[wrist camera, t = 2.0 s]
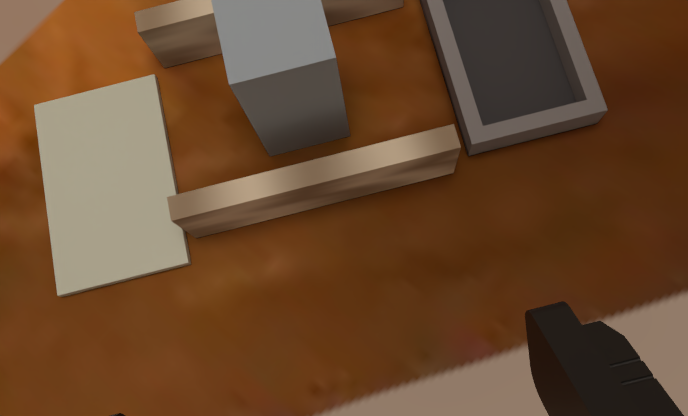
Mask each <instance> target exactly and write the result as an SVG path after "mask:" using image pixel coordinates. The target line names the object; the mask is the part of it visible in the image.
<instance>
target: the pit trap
mask: <svg viewBox="0 0 688 416" xmlns="http://www.w3.org/2000/svg"><path fill="white" fill-rule="evenodd" d="M420 3H421V6H422V9H423V12H424V16H425V19H426V22H427V25H428V28H429V32H430V35H431V38H432V41H433V45H434V48H435V51H436V54H437V57H438V61H439V64H440V67H441V70H442V74H443V77H444V80H445V83H446V86H447V90H448V93H449V96H450V99H451V103H452V106H453V109H454V112H455V116H456V119H457V122H458V125H459V128H460V132H461V135H462V138H463V141H464V145H465V148H466V151H467V154H468V156H471V155H475V154H478V153H482V152H486V151H490V150H494V149H498V148H502V147H506V146H510V145H514V144H518V143H522V142H526V141H530V140H534V139H538V138H541V137H545V136H549V135H553V134H557V133H561V132H565V131H569V130H573V129H577V128H581V127H585V126H589V125H593V124H597V123H598V122H599V120H600V119H601V118H602V117H603V115H604V114H605V113H606V112H607V110H608V109H607V106H606V104H605V101H604V98H603V96H602V93H601V90H600V88H599V85H598V83H597V80H596V77H595V75H594V72H593V69H592V67H591V64H590V61H589V59H588V56H587V53H586V51H585V48H584V46H583V43H582V40H581V38H580V35H579V32H578V30H577V27H576V24H575V22H574V19H573V16H572V14H571V11H570V9H569V6H568V3H567V1H566V0H420Z"/></svg>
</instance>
